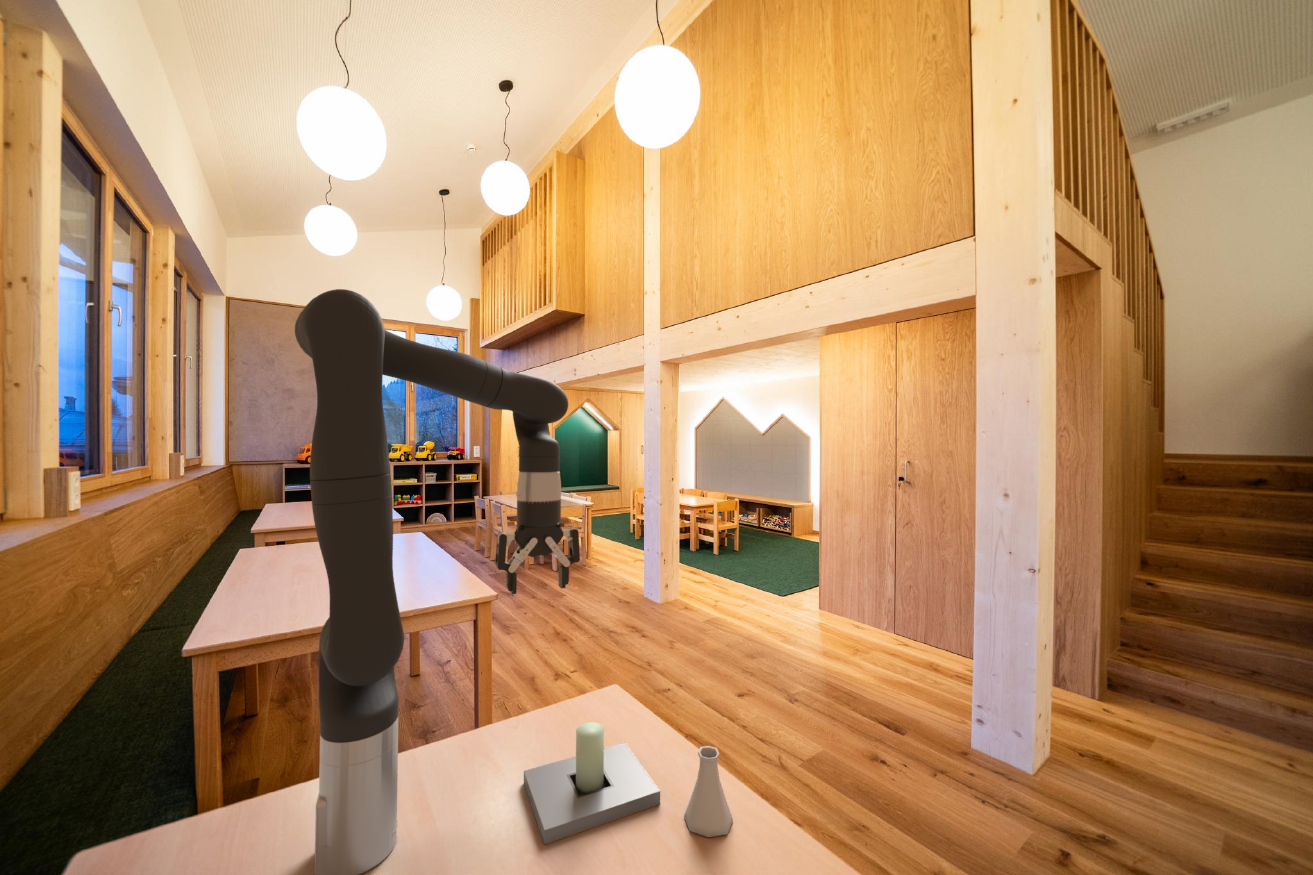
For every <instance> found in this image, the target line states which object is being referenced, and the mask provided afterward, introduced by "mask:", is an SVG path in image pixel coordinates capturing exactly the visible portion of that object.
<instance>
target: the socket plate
mask: <svg viewBox="0 0 1313 875" xmlns="http://www.w3.org/2000/svg"><path fill="white" fill-rule="evenodd" d="M523 785H524V788H525V791H526V794H527V798H528V800H529V803H530V806H531V809H532V813H533V815H534V818H535V821H536V824H537V827H538V830H539V832H540V836H541V839H542V842H543V845H545V846H546V845H548V844H550V843H554V842H556V841H560V840H562V839H565V838H568V837H570V836H573V835H576V834H579V833H581V832H585V831H587V830H590V829H594V828H596V827H598V826H602V825H604V824H607V823H610V822H613V821H616V820H618V819H623V818H624V817H627V816H630V815H633V814H636V813H638V812H641V811H644V810H646V809H649V808H650V809H651V808H653V807H656V806H657V805H658V806H659V805H661V790H660V788H659V786H657V784H656V783H655V782H654V780H653V778H652V777H651V776H650V775H649V773H648V772H647V771H646V769H645V768H644V767H643V764H642V763H641V762H640V761H639V759H638V758H637V757H636V755H635V754H634V753H633V751H632V749H631V748H630V747H629V745H628V744H627V743H626V742H621V743H618V744H614V745H612V746H607V747H604V788H603V789H600V790H597V791H593V792H590V793H587V794H584V795H581V796H579V794H578V792H577V790H576V755H575V756H572V757H568V758H565V759H561V760H558V761H554V762H551V763H548V764H547V763H546V764H544V765H540V766H535V767H533V768H530V769H526V770H523Z"/></svg>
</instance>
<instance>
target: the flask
mask: <svg viewBox="0 0 1313 875" xmlns="http://www.w3.org/2000/svg"><path fill="white" fill-rule="evenodd" d="M697 756H698V757H699V767H698V768H699V769H698V774H697V779H696V781H695V783H694V787H693V790H692V793H691V796H690V799H689V801H688V805H687V807H686V809H685V812H684V815H683V817H684V819H685V823H686V825H687V827H688V830H689V831H690V832H692V833H695V834H698V835H701V836H704V837H707V838H711V837H718V836H724V835H728V834H729V831H730V829H731V827H732V824H733V821H734V819H733V817H732V816H733V815H732V813H731V810H730V807H729V805H728V801H727V797H726V795H725V793H724V792H725V791H724V788H723V786H722V783H721V779H720V774H719V773H720V772H719V767H718V765H719V764H718V761H719V758H720V752H719V750H718V748H717V747H715V746H710V745H705V746H700V747H699V749H698V751H697Z"/></svg>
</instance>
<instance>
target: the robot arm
mask: <svg viewBox="0 0 1313 875" xmlns="http://www.w3.org/2000/svg"><path fill="white" fill-rule="evenodd" d="M294 335H295V338H296V342H297V344H298V345H299V347H300V349H301V350H302V351H303V352H304V353H305V354H306V355H307V356H309V357H310V359H311V360H312V366H313V372H314V377H315V378H314V379H315V386H316V398H317V399H316V415H315V420H314V428H313V433H312V439H311V440H312V441H311V448H310V459H309V463H310V464H309V480H310V481H309V482H310V484H309V485H310V495H311V497H310V498H311V507H312V516H313V522H314V526H315V527H314V528H315V531H316V532H315V533H316V536H317V537H316V538H317V542H318V544H319V550H320V552H321V556H322V559H323V563H324V567H325V570H326V575H327V580H328V589H329V590H328V591H329V593H328V594H329V614H328V616H329V617H328V618H327V620H326V621H325V622H324V624H323V627H322V629H321V631H320V635H319V642H318V645H319V646H318V709H319V712H318V713H319V772H318V773H319V776H318V778H319V781H318V795H317V799H316V803H315V818H314V819H315V821H314V822H315V824H314V825H315V828H314V829H315V830H314V832H315V833H314V875H362V874H363V873H366V872H368V871H370V870H371V869H373V868H374V867H376V866H378V865H379V864H380V863H382V862H383V861H384V860H385V859H387V857H388V856H389V855H390V854H391V853H392V851H393V850H394V848H395V847H396V846H395V845H396V844H397V837H398V835H397V833H398V781H399V780H398V776H399V774H398V771H399V768H398V767H399V766H398V764H399V711H400V710H399V709H400V708H399V706H400V700H399V699H400V698H399V692H398V688H397V682H396V681H397V680H396V675H395V666H396V665H397V663H398V662H399V660H400V658H401V656H402V653H403V650H404V644H405V632H404V627H403V623H402V618H401V613H400V608H399V602H398V596H397V592H396V584H395V578H394V569H393V565H394V564H393V563H394V560H393V559H394V558H393V557H394V556H393V555H394V554H393V553H394V551H393V550H394V515H393V513H394V512H393V489H392V488H393V487H392V475H391V474H392V472H391V464H390V457H389V456H390V455H389V445H388V434H387V428H386V427H387V426H386V420H385V419H386V418H385V413H384V404H383V376H385V377H386V376H387V377H391V378H394V379H397V380H402V381H406V382H410V383H412V384H416V385H419V386H423V387H425V388H429V389H430V390H431V389H432V390H435V391H436V392H437V391H438V392H441V393H443V394H447V395H449V396H452V397H455V398H458V399H460V400H465V401H466V402H470V403H474V404H477V405H479V406H482V407H485V408H488V409H492V410H500V411H501V410H503V411H504V410H505V411H510V412H512V420H513V425H514V431H515V434H516V439H517V442H518V447H519V450H518V451H519V452H518V478H517V485H516V486H517V489H516V493H515V494H516V529H515V531H514V533H512V532H511V533H510V532H509V533H504V532H503V531H500V532H498V533H497V536H496V548H495V549H496V551H495V563H494V564H495V565H494V566H496V568H497V569H498V570H499V571H505V572H506V573H505V574H506V576H505V577H506V578H505V580H506V582H505V584H506V586H505V587H506V589H507V591H508V592H510V594H511V595H516V594H517V589H518V588H517V584H518V583H517V581H518V579H517V575H518V572H517V571H516V570H517V569H518V568H519V566H520V565H521V564H522V563H523V562H524V561H525V560H526V559H527V557H530V558H536V557H538V556H542V557H546V556H549V555H551V554H553V556H554V558H556V559H557V560H558V562H559V563H560V564H559V565H558V587H559V588H560V589H566V586H567V585H569V582H570V566H571V565H572V564H574V563H579V562H580V561H581V555H580V554H581V553H580V535H579V530H578V529H577V528H575V527H573V526H571V527H568V528H566V529H562V526H561V525H562V524H561V523H562V522H561V519H562V481H561V472H560V471H561V470H560V469H561V448H560V444H559V442H558V441H557V440H556V439H555V438H553V437H552V436H551V432H550V426H549V424H553V423H556V422H558V421H560V420H561V419H562V418H564V416H565V415H566V414H567V412H568V409H569V399H568V397H567V394H566V392H565V391H564V390H563V389H562V388H561V387H560V386H559V385H557V384H555V383H554V382H552V381H549V380H547V379H543V378H539V377H537V376H532V375H528V374H524V373H518V372H514V371H510V370H508V369H506V368H504V367H502V366H500V365H497V364H494V363H493V362H492V363H491V362H490V361H486V360H484V359H481V358H479V357H476V356H473V355H470V354H466V353H463V352H460V351H456V350H451V349H445V348H440V347H436V346H432V345H428V344H425V343H420V342H416V341H415V340H410V339H408V338H405V337H402V336H400V335H397V334H395V333H392V332H391V331H388V330H386V329H385V327H384V322H383V319H382V316H381V314H380V312H379V311H378V309H377V308H376V306H375V305H374V304H373V303H372V302H371V301H370V300H369V299H368V298H367V297H365V296H363V295H362V294H360V293H358V292H356V291H353V290H350V289H345V288H344V289H343V288H341V289H340V288H338V289H337V288H335V289H331V290H328V291H325V292H322V293H319V294H318V295H317V296H315V297H313V298H312V299H311V300H310V301H309V302H308V303H307V304H306V305H305V307H304V308H303V309H302V310H301V312H300V313H299V315H298V317H297V318H296V321H295V323H294ZM563 537H564V538H565V540H566V541H567V542H568V555H567V556H566V555H565V553H564V552H563V550H562V549H561V548H560V547H559V543H561V540H562V539H563ZM512 541H514V542H515V543H516V545H518V547H517V549H516V550H515V551H514V553H512V556H511V558H510V559H509V560H508V561H506V559H507V558H506V555H507V547H510V545H511V544H512Z"/></svg>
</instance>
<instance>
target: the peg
mask: <svg viewBox="0 0 1313 875" xmlns="http://www.w3.org/2000/svg"><path fill="white" fill-rule="evenodd" d="M575 732H576V733H575V756H576V786H575V788H576V790H577V792H578V794H579V796H581V795H584V794H587V793H590V792H593V791H597V790H600V789H603V788H605V787H604V748H605V727H604V726H603V725H602V724H601V723H599V722H590V721H589V722H586V723H582V724H580V725H579V726H578V727H577V728H576V731H575Z"/></svg>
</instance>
